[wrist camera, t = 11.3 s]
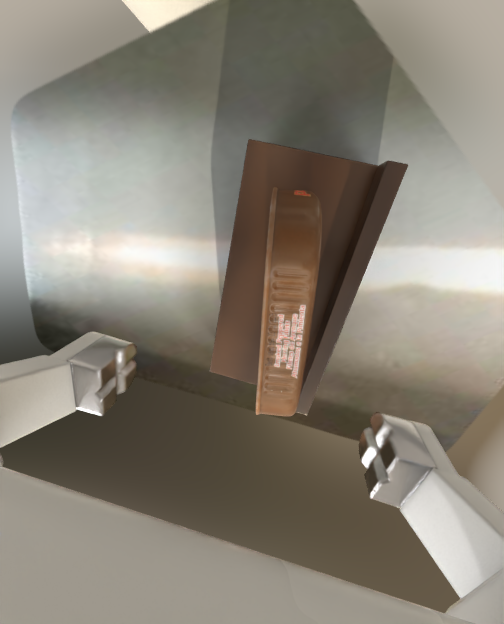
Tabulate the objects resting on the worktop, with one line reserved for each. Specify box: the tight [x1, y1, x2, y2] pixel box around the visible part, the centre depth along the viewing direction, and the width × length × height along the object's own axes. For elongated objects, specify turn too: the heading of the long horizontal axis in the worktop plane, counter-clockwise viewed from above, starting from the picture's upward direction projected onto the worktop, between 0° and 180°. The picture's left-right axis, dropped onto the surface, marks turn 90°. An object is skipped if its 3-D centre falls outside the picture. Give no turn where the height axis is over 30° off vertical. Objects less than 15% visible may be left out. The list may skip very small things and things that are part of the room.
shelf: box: [210, 139, 408, 415], centre depth 22 cm, size 10×20×7 cm, turn 168°
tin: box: [256, 187, 322, 416], centre depth 17 cm, size 15×3×8 cm, turn 177°
